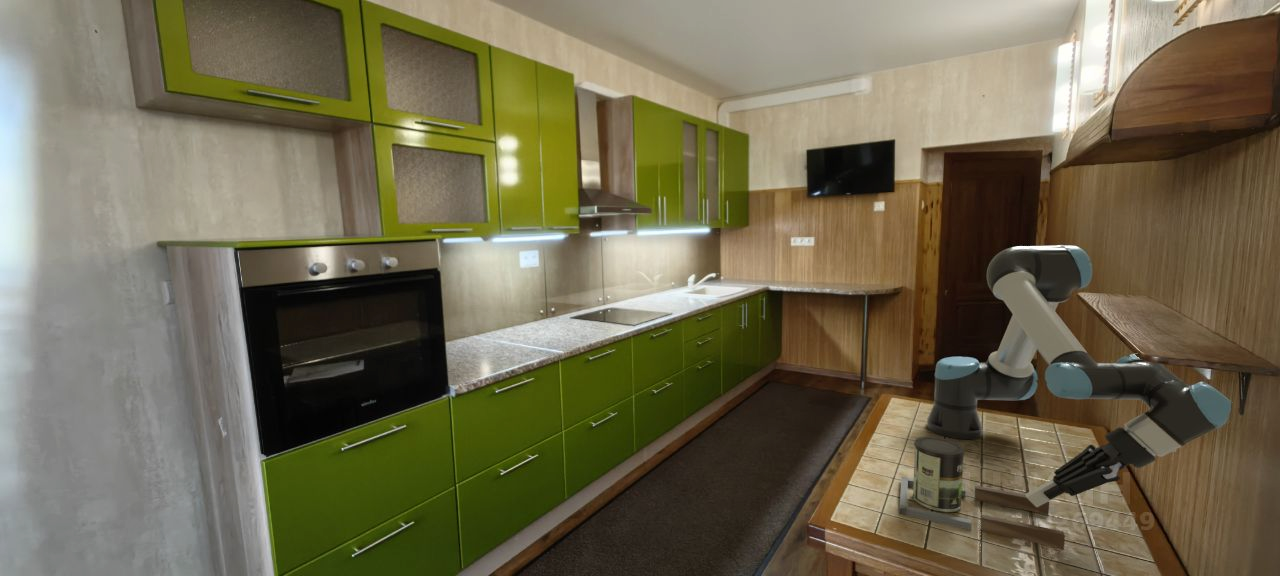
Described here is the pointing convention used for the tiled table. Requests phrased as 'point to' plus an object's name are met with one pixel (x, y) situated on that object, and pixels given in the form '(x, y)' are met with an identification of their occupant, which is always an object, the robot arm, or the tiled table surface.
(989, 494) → the chute
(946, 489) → the coffee can
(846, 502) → the tiled table surface
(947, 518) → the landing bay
